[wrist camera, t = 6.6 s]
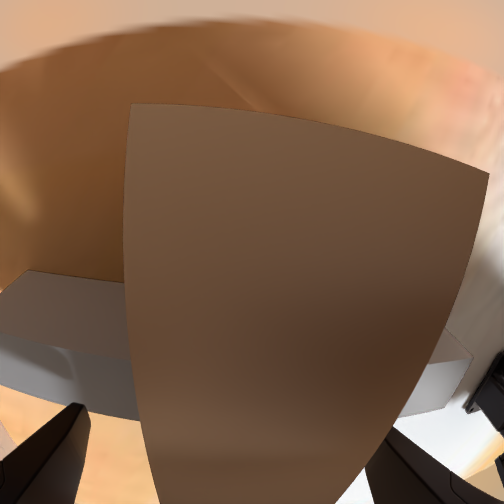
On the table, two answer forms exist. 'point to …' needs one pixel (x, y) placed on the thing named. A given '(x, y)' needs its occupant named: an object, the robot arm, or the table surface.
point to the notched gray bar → (125, 348)
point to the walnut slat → (281, 295)
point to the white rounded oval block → (5, 442)
